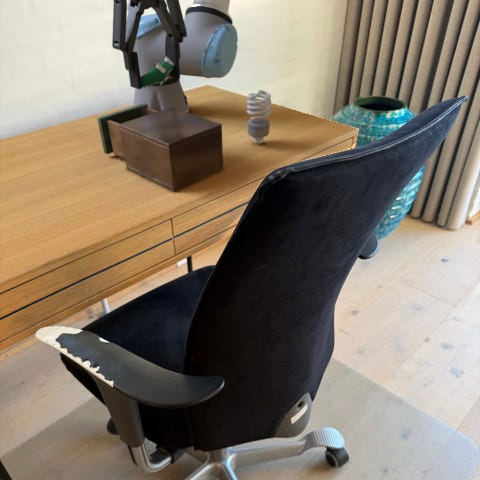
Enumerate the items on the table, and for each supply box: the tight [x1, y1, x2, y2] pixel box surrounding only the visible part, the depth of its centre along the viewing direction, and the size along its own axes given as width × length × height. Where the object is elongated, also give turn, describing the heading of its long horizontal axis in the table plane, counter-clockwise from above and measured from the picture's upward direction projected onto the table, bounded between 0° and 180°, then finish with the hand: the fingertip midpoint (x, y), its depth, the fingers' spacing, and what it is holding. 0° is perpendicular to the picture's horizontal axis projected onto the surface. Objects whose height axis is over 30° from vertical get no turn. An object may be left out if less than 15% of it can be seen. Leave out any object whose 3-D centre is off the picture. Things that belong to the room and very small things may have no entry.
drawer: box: [96, 103, 158, 160], centre depth 107 cm, size 20×13×8 cm
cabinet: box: [119, 107, 224, 193], centre depth 101 cm, size 16×14×10 cm
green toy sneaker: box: [141, 57, 175, 87], centre depth 98 cm, size 9×4×6 cm
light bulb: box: [246, 89, 272, 145], centre depth 110 cm, size 6×6×12 cm
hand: (156, 82), depth 99 cm, fingers closed on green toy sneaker, 10 cm apart
